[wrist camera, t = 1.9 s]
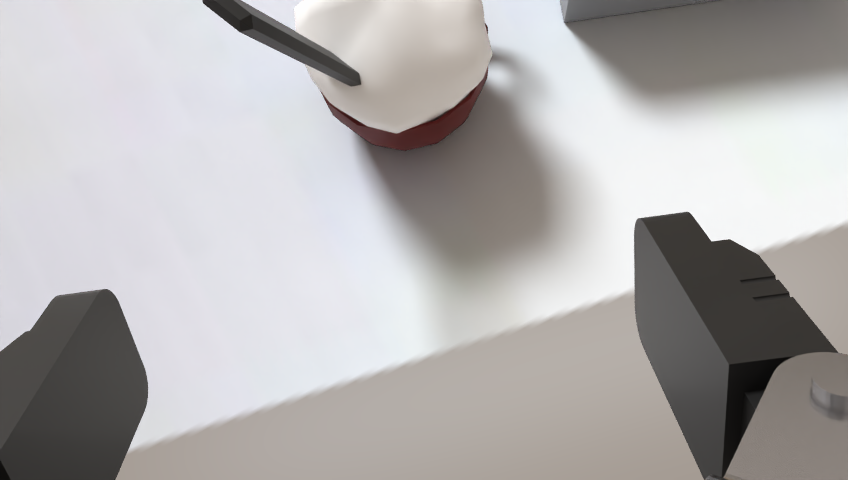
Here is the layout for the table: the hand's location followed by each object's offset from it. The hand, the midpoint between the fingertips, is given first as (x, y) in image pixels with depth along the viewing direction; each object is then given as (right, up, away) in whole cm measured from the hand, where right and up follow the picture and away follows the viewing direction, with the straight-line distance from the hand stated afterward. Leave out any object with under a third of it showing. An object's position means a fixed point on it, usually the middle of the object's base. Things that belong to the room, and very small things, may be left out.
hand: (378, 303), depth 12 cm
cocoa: (0, +6, +18) cm, 19 cm away
